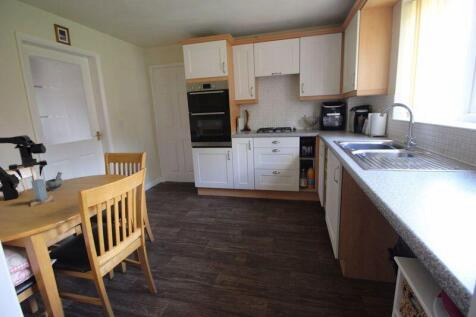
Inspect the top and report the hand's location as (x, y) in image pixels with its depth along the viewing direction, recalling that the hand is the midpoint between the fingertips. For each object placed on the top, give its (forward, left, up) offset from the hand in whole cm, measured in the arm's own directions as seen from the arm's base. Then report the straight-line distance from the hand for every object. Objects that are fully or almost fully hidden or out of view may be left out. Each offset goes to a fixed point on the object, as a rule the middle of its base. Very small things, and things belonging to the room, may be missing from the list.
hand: (31, 177), depth 152 cm
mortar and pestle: (+12, +7, -13) cm, 19 cm away
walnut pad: (+2, -18, -13) cm, 22 cm away
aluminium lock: (+2, -18, -12) cm, 22 cm away
